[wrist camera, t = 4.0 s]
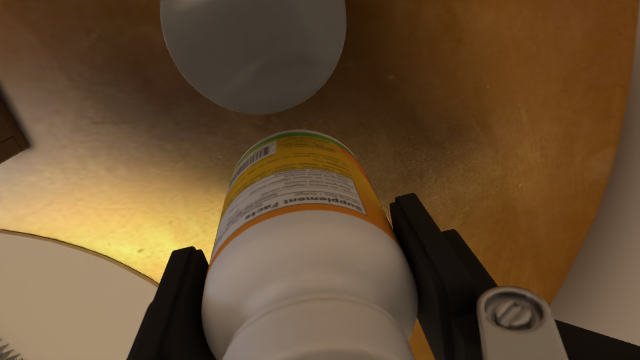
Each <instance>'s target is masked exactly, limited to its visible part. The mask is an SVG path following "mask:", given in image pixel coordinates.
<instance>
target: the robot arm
mask: <svg viewBox="0 0 640 360" xmlns="http://www.w3.org/2000/svg"><path fill="white" fill-rule="evenodd" d="M389 205H390V213H391V219H392V225H393V231H394V233H395V235H396V237H397V240H398V242H399V244H400V246H401V248H402V250H403V252H404V254H405V256H406V258H407V261H408V263H409V265H410V268H411V270H412V273H413V275H414V278H415V282H416V286H417V291H418V312H417V318H418V320H419V323H420V325H421V327H422V330H423V332H424V334H425V337H426V339H427V341H428V344H429V346H430V348H431V351H432V353H433V355H434V358H435V360H640V346H637V345H634V344H631V343H628V342H624V341H621V340H618V339H615V338H611V337H609V336H605V335H602V334H599V333H596V332H593V331H590V330H586V329H583V328H580V327H577V326H574V325H571V324H568V323H564V322H561V321H558V320H555V319H554V318H553V315H552V312H551V310H550V308H549V306H548V304H547V303H546V301H545V300H543V299H542V298H541V297H540V296H539V295H537V294H536V293H534V292H532V291H530V290H527V289H524V288H521V287H516V286H499V287H498V285H497V284H496V283H495V281H494V280H493V279H492V277H491V276H490V275H489V273H488V272H487V271H486V269H485V268H484V267H483V265H482V264H481V263H480V261H479V260H478V259H477V257H476V256H475V255H474V253H473V252H472V251H471V249H470V248H469V247H468V245H467V244H466V243H465V241H464V240H463V239H462V237H461V236H460V235H459V233H458V232H457V231H456V230H454V229H451V230H447V231H443V232H441V231H440V229H439V228H438V226H437V225H436V223H435V222H434V221H433V219H432V218H431V216H430V215H429V213H428V212H427V210H426V209H425V207H424V206H423V204H422V203H421V201H420V200H419V199H418V197H417V196H416V194H415V193H411V194H406V195H402V196H398V197H395V202H394V203H390V204H389ZM208 267H209V265H208V262H207V260H206V258H205V255H204V253H203V251H202V250H201V249H199V250H196V249H195V247H193V246H191V247H186V248H182V249H178V250H174V251H173V252H172V253H171V256H170V258H169V261H168V263H167V266H166V268H165V271H164V274H163V276H162V279H161V281H160V284H159V286H158V289H157V291H156V294H155V296H154V299H153V301H152V302H151V303H150V304H149V306H148V308H147V310H146V313H145V315H144V318H143V320H142V322H141V325H140V327H139V330H138V332H137V335H136V337H135V340H134V342H133V345H132V347H131V350H130V352H129V355H128V357H127V359H126V360H216V358H215V357H214V355H213V353H212V352H211V350H210V348H209V346H208V344H207V341H206V338H205V335H204V331H203V325H202V316H201V309H202V299H203V292H204V287H205V280H206V275H207V271H208Z"/></svg>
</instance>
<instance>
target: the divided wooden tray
mask: <svg viewBox="0 0 640 360" xmlns="http://www.w3.org/2000/svg"><path fill="white" fill-rule="evenodd" d="M27 148H29V146H28V144H27V142H26V140H25V139H24V137H23V135H22V133H21V132H20V130H19V128H18V126H17V125H16V123H15V121H14V119H13V117H12V116H11V114H10V112H9V110H8V109H7V107H6V105H5V103H4V102H3V100H2V98H1V96H0V164H1V163H3V162H5V161H6V160H8V159H10V158H11V157H13V156H15V155H16V154H18V153H20V152H22V151H24V150H25V149H27Z"/></svg>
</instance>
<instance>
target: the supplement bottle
mask: <svg viewBox="0 0 640 360" xmlns="http://www.w3.org/2000/svg"><path fill="white" fill-rule="evenodd" d="M417 312H418V291H417V286H416V282H415V278H414V275H413V273H412V270H411V268H410V265H409V263H408V261H407V258H406V256H405V254H404V252H403V250H402V248H401V246H400V244H399V242H398V240H397V237H396V235H395V233H394V231H393V229H392V227H391V225H390V223H389V221H388V219H387V217H386V215H385V213H384V211H383V209H382V207H381V205H380V203H379V201H378V199H377V197H376V194H375V192H374V190H373V188H372V186H371V184H370V182H369V180H368V178H367V176H366V174H365V172H364V170H363V168H362V166H361V165H360V163H359V162H358V160H357V158H356V157H355V156H354V154H353V153H352V152H351V151H350V150H349V149H348V148H347V147H346V146H345V145H344V144H342V143H341V142H339V141H338V140H336V139H334V138H333V137H330V136H328V135H326V134H323V133H320V132H316V131H312V130H302V129H294V130H286V131H282V132H278V133H275V134H272V135H270V136H268V137H266V138H264V139H262V140H260V141H258V142H257V143H256V144H254V145H253V146H252V147H251V148H249V149H248V150H247V151H246V152H245V153H244V155H243V156H242V157H241V159H240V160H239V161H238V163H237V165H236V167H235V169H234V171H233V173H232V176H231V179H230V182H229V185H228V189H227V193H226V197H225V201H224V206H223V210H222V214H221V218H220V222H219V227H218V231H217V235H216V239H215V243H214V247H213V251H212V255H211V259H210V264H209V267H208V271H207V275H206V280H205V287H204V292H203V299H202V309H201V316H202V325H203V331H204V335H205V338H206V341H207V344H208V346H209V348H210V350H211V352H212V353H213V355H214V357H215V358H216V360H415V359H414V356H413V354H412V351H411V348H410V346H409V344H408V340H409V338H410V336H411V334H412V331H413V329H414V326H415V322H416V317H417Z"/></svg>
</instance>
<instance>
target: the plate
mask: <svg viewBox="0 0 640 360" xmlns="http://www.w3.org/2000/svg"><path fill="white" fill-rule="evenodd" d="M158 286H159V284H157V283H156V282H154V281H153V280H151V279H150V278H148V277H146V276H144V275H142V274H140V273H139V272H137V271H135V270H133V269H131V268H129V267H127V266H125V265H123V264H121V263H119V262H117V261H115V260H112V259H110V258H108V257H106V256H103V255H100V254H97V253H95V252H92V251H89V250H86V249H83V248H80V247H77V246H73V245H70V244H66V243H63V242H60V241H56V240H52V239H47V238H43V237H38V236H33V235H28V234H23V233H16V232H10V231H4V230H0V360H126V359H127V357H128V355H129V352H130V350H131V347H132V345H133V342H134V340H135V337H136V335H137V332H138V330H139V327H140V325H141V322H142V320H143V318H144V315H145V313H146V310H147V308H148V306H149V304H150V303H151V302H152V301H153V299H154V296H155V294H156V291H157V289H158Z"/></svg>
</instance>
